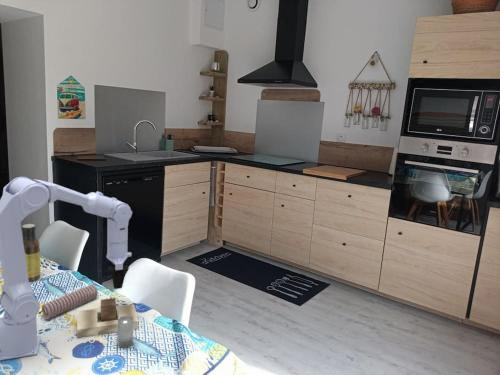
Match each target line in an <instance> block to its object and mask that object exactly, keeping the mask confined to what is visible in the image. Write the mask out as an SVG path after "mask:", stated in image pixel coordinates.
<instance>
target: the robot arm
mask: <svg viewBox="0 0 500 375" xmlns="http://www.w3.org/2000/svg"><path fill="white" fill-rule="evenodd" d="M55 201H62V202H66V203H69V204H74V205H77V206H81V207H82V209H83V212H85V213H88V214H90V215H91V214H92V215H96V216H99V217H101V218H102V217H103V218H107V219H106V220H107V223H106V224H107V225H106V227H107V230H106V231H107V232H106V233H107V235H106V236H107V240H106V241H107V242H106V244H107V245H106V247H107V251H106V252H107V254H106V259H107V261H108V263H109V265H110V266H107V270H108V273H109V274H110V276H111V279H112V284H113V285H112V286H113V288H114V290H118V289H120V290H121V289H122V288H123V285H124V280H125V278H126V277H125V276H126V275H127V273H128V271H129V268H130V267H129V265H124V263H125V261H126V260H127V259H128V258H129V257H132V252H130V251H128V236H129V235H128V234H129V232H128V231H129V229H128V228H129V227H128V226H129V221H130V219H131V218H132V215H133V211H132V209H131V207H130V206H129V204H128V203H125V202H122V201H121V200H118V198H116V197H109V196H106V195H104V193H102V192H100V191H98V190H97V191H96V192H94V191H93V192H92V191H91V192H89V193H87V194H84V193H81V192H79V191H76V190H74V189H70V188H67V187H65V186H62V185H59V184H56V183H53V182H49V181H45V180H40V179H34V178H33V180H32V179H31V178H29V177H27V176H19V177H15V178H13V179H12V180H11V181H10V182H8V184H5V186H4V187H3V190H2V196H1V197H0V266H1V272H2V278H3V284H2V285H1V294H0V307H1V308H2V309H3V310H4V314H3V316H2V317H0V361H4V360H10V359H11V360H12V359H17V358H23V357H31V356H35V355H38V354H39V353H38V352H39V348H40V343H41V335H38V324H37V323H38V322H37V315H38V314H39V312H40V309H41V304H40V302H39V301H38V300H37V298H36V297H35V293H34V290H33V288H32V286H31V284H30V281H29V280H28V273H27V266H26V259H25V252H24V244H23V231H22V224H21V223H22V221H23V220H24V219H25V218H27V216H29V215H31V214H32V213H34V212H36V211H37V210H40V209H41V208H43V207H44V206H45V205H46V204H52V203H54V202H55Z"/></svg>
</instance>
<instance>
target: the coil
mask: <svg viewBox="0 0 500 375" xmlns="http://www.w3.org/2000/svg"><path fill="white" fill-rule="evenodd" d="M98 295H99V294H98V288H97V286H96V285H95V284H93V283H92V284H91V283H90V285H87V286H85V287H82V288H80V289H77V290H74V291H71V292H70V293H68V294H65V295H62V296H59V297H58V298H55V299H53V300H50V301H49V302H46V303H43V304H42V306H41V313H42V315H43V320H44V321H46V320H50V319H52V318H54V317H56V316H59V315H61V314H63V313H66V312H68V311H70V310H72V309H74V308H77V307H78V306H81V305H83V304H85V303H88V302H90V301H92V300H94V299H96V298H98ZM93 298H94V299H93ZM80 304H81V305H80Z"/></svg>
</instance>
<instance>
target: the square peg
mask: <svg viewBox="0 0 500 375" xmlns="http://www.w3.org/2000/svg"><path fill="white" fill-rule="evenodd" d="M116 306H117V301H116V298H115V297H112V298H104V299H100V308H101V320H100V322H105V321H112V320H117V318H116Z"/></svg>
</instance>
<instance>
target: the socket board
mask: <svg viewBox="0 0 500 375" xmlns="http://www.w3.org/2000/svg"><path fill="white" fill-rule="evenodd" d="M135 306H136V305H135V304H133V303H132V304H127V305H126V304H124V305H118V306H117V305H116V320H112V321H105V322H101V307H100V308H93V309H85V310H78V311H77V323H76V325H77V326H76V338H77V339H81V338H86V337H94V336H99V335H107V334H113V333H118V319H119V318H120V317H123V316H130V317H132V318H133V331H134V330H139V319H138V316H137V310H136V307H135ZM99 321H100V322H99Z"/></svg>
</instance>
